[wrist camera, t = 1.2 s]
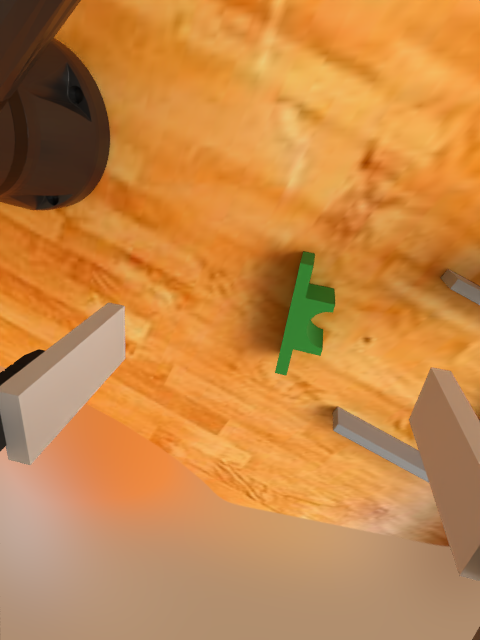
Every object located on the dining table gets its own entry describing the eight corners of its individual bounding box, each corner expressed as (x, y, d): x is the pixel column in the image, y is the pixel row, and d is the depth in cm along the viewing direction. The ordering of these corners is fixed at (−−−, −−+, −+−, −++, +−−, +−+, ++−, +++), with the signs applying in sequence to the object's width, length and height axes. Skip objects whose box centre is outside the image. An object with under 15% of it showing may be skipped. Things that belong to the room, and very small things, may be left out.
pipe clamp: (314, 359, 40) (312, 382, 36) (280, 350, 41) (274, 373, 37) (342, 258, 35) (344, 272, 31) (303, 250, 36) (299, 263, 32)
